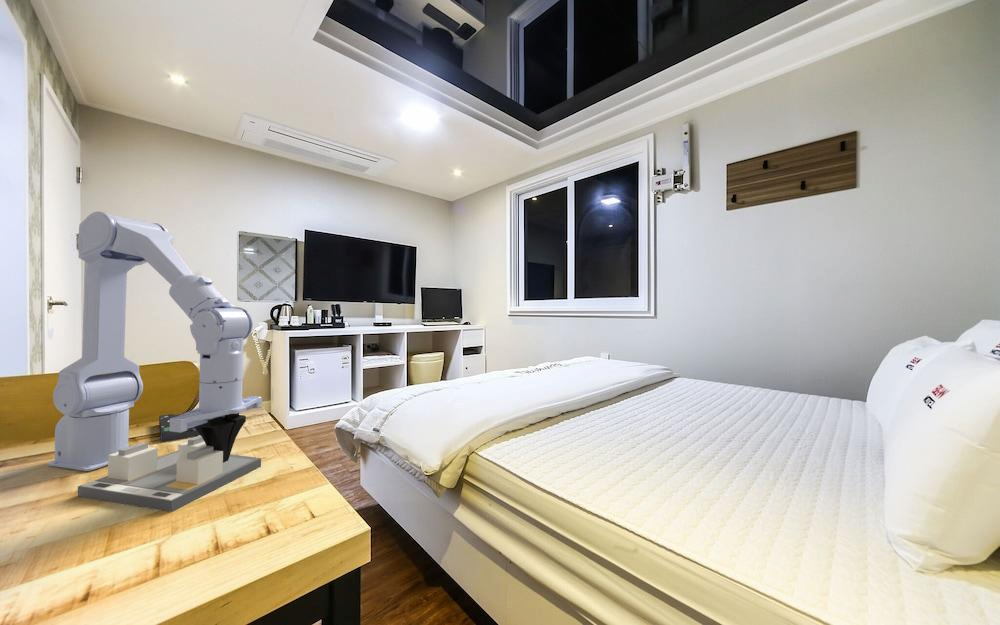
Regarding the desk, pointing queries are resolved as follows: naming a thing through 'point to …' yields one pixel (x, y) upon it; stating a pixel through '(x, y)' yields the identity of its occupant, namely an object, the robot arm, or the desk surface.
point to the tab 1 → (132, 462)
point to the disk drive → (169, 436)
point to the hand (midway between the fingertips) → (220, 461)
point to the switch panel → (165, 484)
